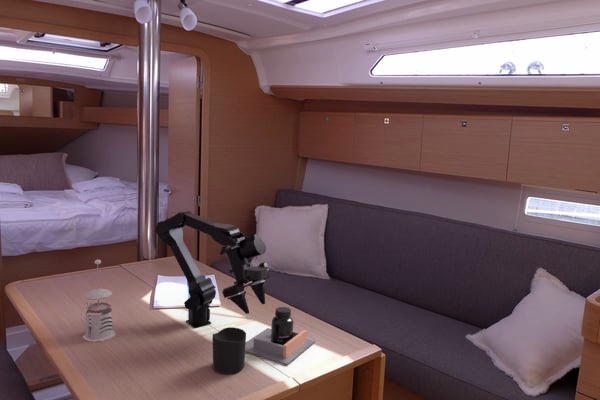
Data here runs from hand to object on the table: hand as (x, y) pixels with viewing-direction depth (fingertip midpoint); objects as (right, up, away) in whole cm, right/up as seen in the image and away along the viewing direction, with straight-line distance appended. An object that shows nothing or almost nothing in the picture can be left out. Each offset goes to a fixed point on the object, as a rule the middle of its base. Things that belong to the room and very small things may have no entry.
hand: (255, 308), depth 154 cm
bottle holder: (+7, -11, -3) cm, 14 cm away
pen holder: (-6, -13, -18) cm, 23 cm away
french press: (-50, -9, -2) cm, 51 cm away
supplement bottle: (+8, -11, -4) cm, 14 cm away
